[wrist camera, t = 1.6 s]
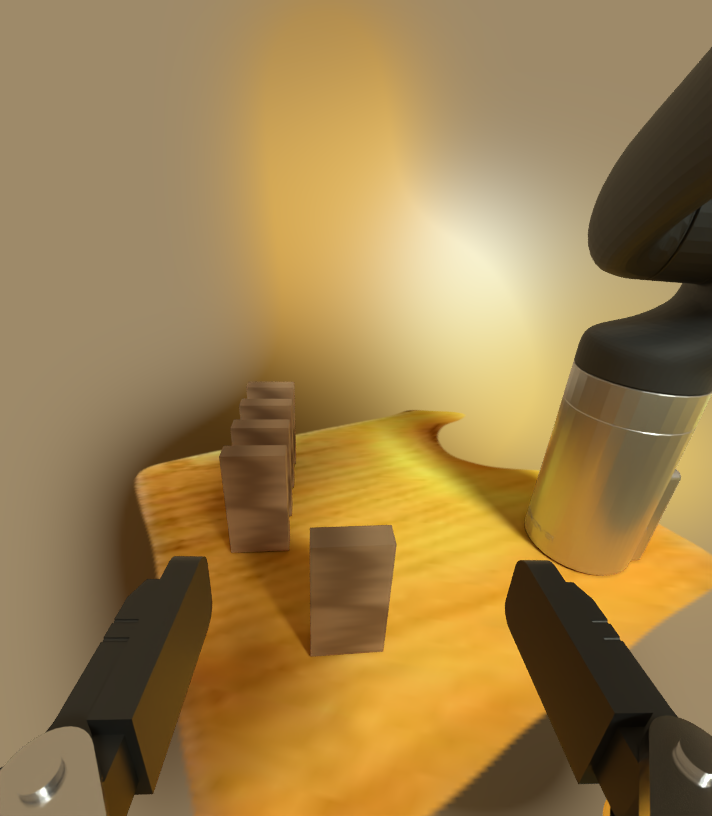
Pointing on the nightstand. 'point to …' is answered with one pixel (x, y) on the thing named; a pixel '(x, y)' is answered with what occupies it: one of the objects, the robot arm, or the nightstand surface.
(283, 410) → the wooden domino
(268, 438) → the tile
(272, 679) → the nightstand surface
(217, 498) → the nightstand surface
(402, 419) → the nightstand surface
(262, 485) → the tile
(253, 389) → the tile
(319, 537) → the loose tile
